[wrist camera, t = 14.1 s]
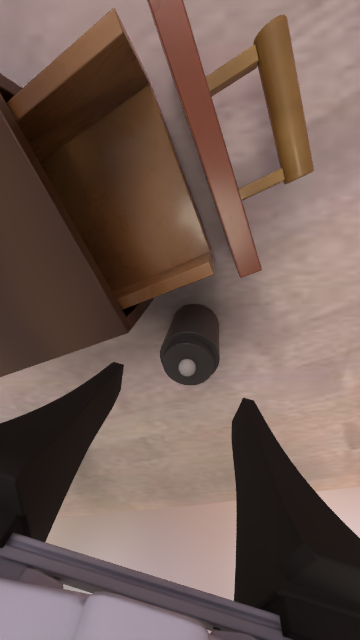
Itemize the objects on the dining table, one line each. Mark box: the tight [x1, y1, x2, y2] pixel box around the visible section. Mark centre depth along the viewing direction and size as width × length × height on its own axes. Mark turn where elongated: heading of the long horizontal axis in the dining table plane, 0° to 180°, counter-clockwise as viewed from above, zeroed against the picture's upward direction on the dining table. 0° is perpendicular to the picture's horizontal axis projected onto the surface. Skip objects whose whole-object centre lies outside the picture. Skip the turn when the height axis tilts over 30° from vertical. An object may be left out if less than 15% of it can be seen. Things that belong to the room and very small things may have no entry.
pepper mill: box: [160, 304, 219, 385], centre depth 18 cm, size 4×4×7 cm
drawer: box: [6, 0, 314, 310], centre depth 13 cm, size 16×13×5 cm
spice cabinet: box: [0, 74, 155, 377], centre depth 17 cm, size 14×14×7 cm
